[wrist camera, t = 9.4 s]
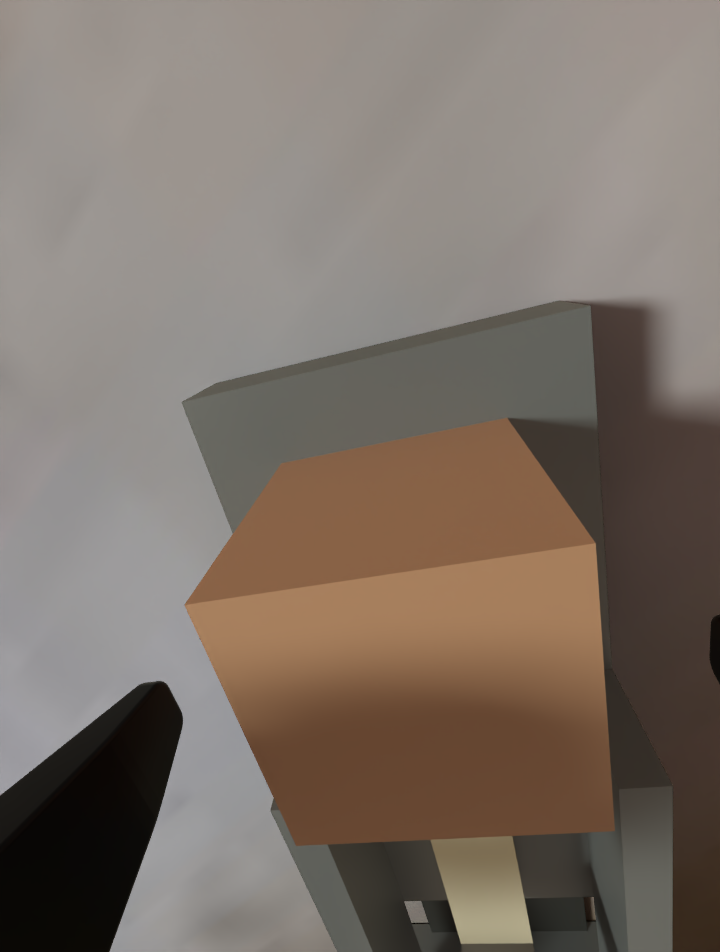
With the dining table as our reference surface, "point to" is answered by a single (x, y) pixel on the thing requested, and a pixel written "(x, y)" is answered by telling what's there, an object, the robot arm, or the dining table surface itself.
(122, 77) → the dining table surface
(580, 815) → the terracotta block
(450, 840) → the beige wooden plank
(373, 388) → the channel
